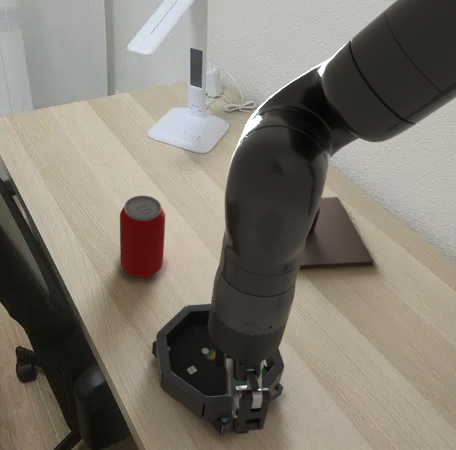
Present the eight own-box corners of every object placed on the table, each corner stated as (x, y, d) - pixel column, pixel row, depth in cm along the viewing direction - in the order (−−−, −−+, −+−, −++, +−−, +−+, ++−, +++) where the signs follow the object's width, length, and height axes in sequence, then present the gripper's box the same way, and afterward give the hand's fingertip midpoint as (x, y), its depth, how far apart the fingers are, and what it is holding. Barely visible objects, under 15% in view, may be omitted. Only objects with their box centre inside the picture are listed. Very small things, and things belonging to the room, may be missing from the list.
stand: (336, 200, 102) (344, 176, 99) (372, 265, 90) (382, 240, 86) (247, 203, 101) (251, 179, 97) (270, 270, 88) (276, 244, 84)
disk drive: (150, 355, 75) (222, 439, 66) (150, 342, 73) (224, 427, 64) (208, 321, 80) (282, 395, 71) (209, 308, 78) (286, 382, 69)
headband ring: (260, 314, 77) (263, 300, 75) (290, 413, 66) (295, 399, 64) (152, 320, 76) (153, 306, 74) (164, 422, 65) (165, 408, 63)
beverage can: (144, 245, 92) (146, 187, 84) (171, 267, 88) (175, 209, 80) (112, 262, 88) (110, 203, 80) (138, 287, 84) (139, 228, 76)
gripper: (311, 361, 48) (278, 451, 59) (270, 248, 59) (248, 342, 69) (226, 366, 47) (209, 457, 58) (200, 252, 58) (189, 346, 69)
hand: (230, 395), depth 64 cm, fingers open, 8 cm apart
